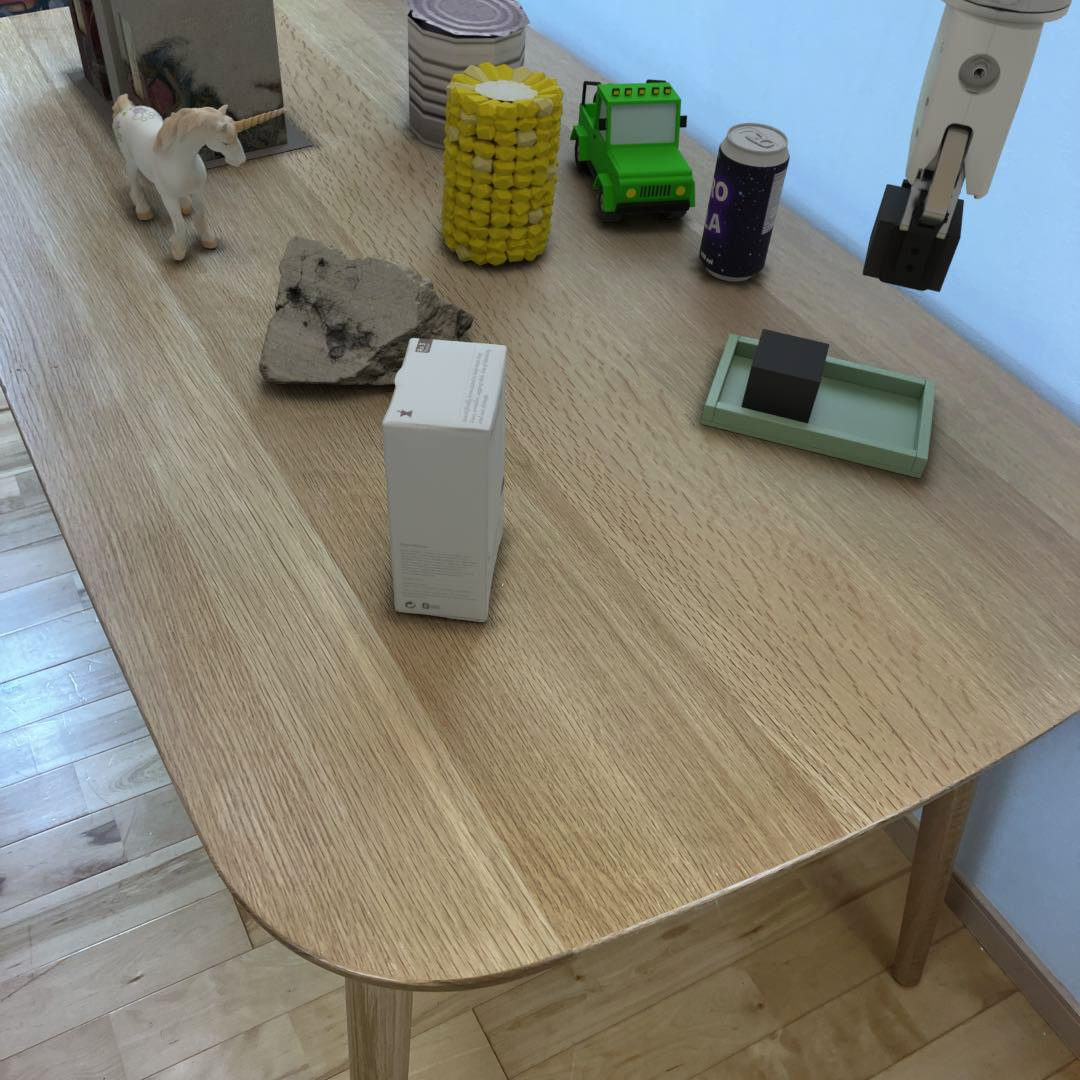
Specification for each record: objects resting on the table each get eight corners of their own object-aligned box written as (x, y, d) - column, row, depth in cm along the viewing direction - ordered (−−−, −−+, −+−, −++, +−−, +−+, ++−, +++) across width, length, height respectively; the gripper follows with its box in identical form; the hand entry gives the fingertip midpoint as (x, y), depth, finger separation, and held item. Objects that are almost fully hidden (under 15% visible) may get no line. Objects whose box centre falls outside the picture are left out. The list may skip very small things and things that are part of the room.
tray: (929, 399, 86) (936, 381, 85) (920, 478, 79) (927, 459, 78) (725, 351, 89) (729, 332, 87) (700, 423, 82) (704, 404, 81)
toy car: (604, 237, 99) (617, 129, 92) (562, 146, 111) (570, 44, 104) (694, 232, 101) (714, 126, 94) (643, 142, 113) (657, 42, 105)
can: (444, 92, 118) (444, -29, 109) (541, 120, 115) (549, -2, 106) (387, 135, 110) (382, 9, 102) (489, 165, 107) (493, 38, 99)
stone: (494, 377, 84) (499, 261, 77) (269, 416, 80) (253, 296, 72) (450, 293, 92) (450, 180, 85) (242, 324, 87) (224, 207, 80)
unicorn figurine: (239, 300, 89) (215, 141, 80) (80, 215, 96) (40, 59, 87) (303, 263, 93) (287, 108, 84) (146, 184, 101) (115, 33, 91)
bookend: (152, 181, 101) (115, -7, 90) (66, 73, 115) (24, -101, 103) (313, 144, 108) (298, -34, 96) (213, 47, 122) (189, -119, 110)
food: (430, 276, 96) (475, 226, 103) (558, 281, 92) (595, 228, 99) (392, 95, 87) (443, 54, 94) (532, 91, 83) (576, 49, 90)
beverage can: (728, 244, 100) (755, 114, 91) (775, 273, 97) (808, 141, 89) (683, 263, 97) (707, 131, 89) (730, 293, 94) (760, 160, 86)
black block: (816, 386, 86) (829, 343, 83) (807, 425, 82) (820, 382, 79) (752, 371, 86) (763, 328, 83) (740, 409, 83) (751, 365, 80)
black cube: (944, 253, 75) (964, 199, 72) (939, 292, 72) (960, 237, 69) (869, 237, 76) (886, 183, 73) (861, 275, 72) (879, 219, 70)
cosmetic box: (487, 625, 67) (496, 437, 57) (388, 614, 68) (378, 424, 57) (503, 527, 73) (514, 341, 63) (412, 517, 73) (407, 329, 63)
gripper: (1083, 40, 54) (957, 346, 67) (1075, -68, 66) (969, 212, 79) (927, 11, 55) (833, 318, 68) (946, -89, 67) (862, 190, 80)
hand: (906, 259), depth 73 cm, fingers closed on black cube, 5 cm apart
